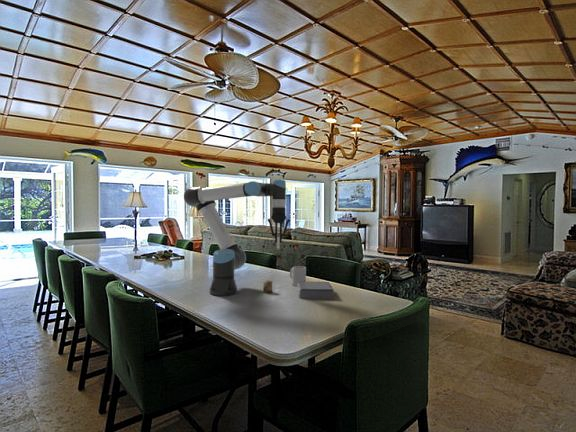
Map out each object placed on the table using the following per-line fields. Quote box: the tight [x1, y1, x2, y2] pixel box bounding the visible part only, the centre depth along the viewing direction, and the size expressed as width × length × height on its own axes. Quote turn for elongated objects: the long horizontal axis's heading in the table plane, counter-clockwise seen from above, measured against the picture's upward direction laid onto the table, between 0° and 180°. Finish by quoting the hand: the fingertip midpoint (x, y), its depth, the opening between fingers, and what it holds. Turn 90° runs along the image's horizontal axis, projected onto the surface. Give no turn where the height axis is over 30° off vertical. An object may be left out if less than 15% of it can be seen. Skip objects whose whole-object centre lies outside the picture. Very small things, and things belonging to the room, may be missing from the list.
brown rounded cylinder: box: [262, 279, 273, 294], centre depth 193 cm, size 5×5×6 cm
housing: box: [299, 281, 334, 300], centre depth 189 cm, size 17×18×5 cm
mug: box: [289, 265, 307, 288], centre depth 212 cm, size 12×8×11 cm
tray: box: [297, 283, 301, 299], centre depth 189 cm, size 17×16×4 cm
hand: (278, 248), depth 195 cm, fingers closed
